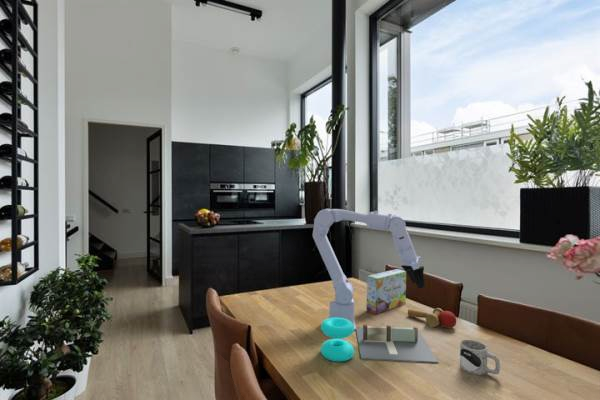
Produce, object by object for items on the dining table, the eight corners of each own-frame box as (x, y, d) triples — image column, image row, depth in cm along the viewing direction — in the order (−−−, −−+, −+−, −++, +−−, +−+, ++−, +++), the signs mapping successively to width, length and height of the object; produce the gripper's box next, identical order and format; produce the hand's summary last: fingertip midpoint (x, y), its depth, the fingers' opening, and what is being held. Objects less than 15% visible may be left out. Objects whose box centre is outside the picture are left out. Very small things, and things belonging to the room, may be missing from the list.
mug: (455, 367, 90) (455, 343, 90) (466, 359, 94) (467, 337, 94) (494, 384, 82) (494, 358, 82) (504, 375, 86) (505, 350, 86)
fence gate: (392, 340, 104) (392, 327, 104) (391, 338, 106) (391, 325, 105) (418, 341, 103) (418, 328, 103) (417, 340, 105) (417, 326, 105)
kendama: (404, 322, 124) (451, 330, 111) (403, 305, 126) (450, 311, 113) (414, 321, 129) (460, 328, 116) (413, 304, 131) (459, 310, 118)
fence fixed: (363, 341, 105) (363, 326, 105) (362, 339, 107) (363, 324, 106) (391, 343, 104) (391, 327, 104) (390, 341, 106) (390, 325, 106)
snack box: (376, 315, 128) (377, 278, 128) (365, 311, 133) (366, 275, 133) (406, 304, 142) (406, 270, 142) (395, 300, 146) (396, 268, 146)
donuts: (357, 328, 92) (323, 329, 91) (357, 363, 92) (323, 364, 91) (350, 315, 102) (319, 316, 101) (350, 346, 102) (319, 347, 101)
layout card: (361, 359, 94) (361, 357, 94) (355, 328, 116) (355, 326, 116) (438, 363, 92) (438, 361, 92) (418, 330, 114) (418, 329, 114)
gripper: (421, 247, 106) (436, 286, 105) (410, 242, 120) (423, 276, 119) (401, 254, 106) (415, 292, 106) (392, 248, 121) (405, 282, 120)
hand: (418, 284), depth 113 cm, fingers open, 7 cm apart
